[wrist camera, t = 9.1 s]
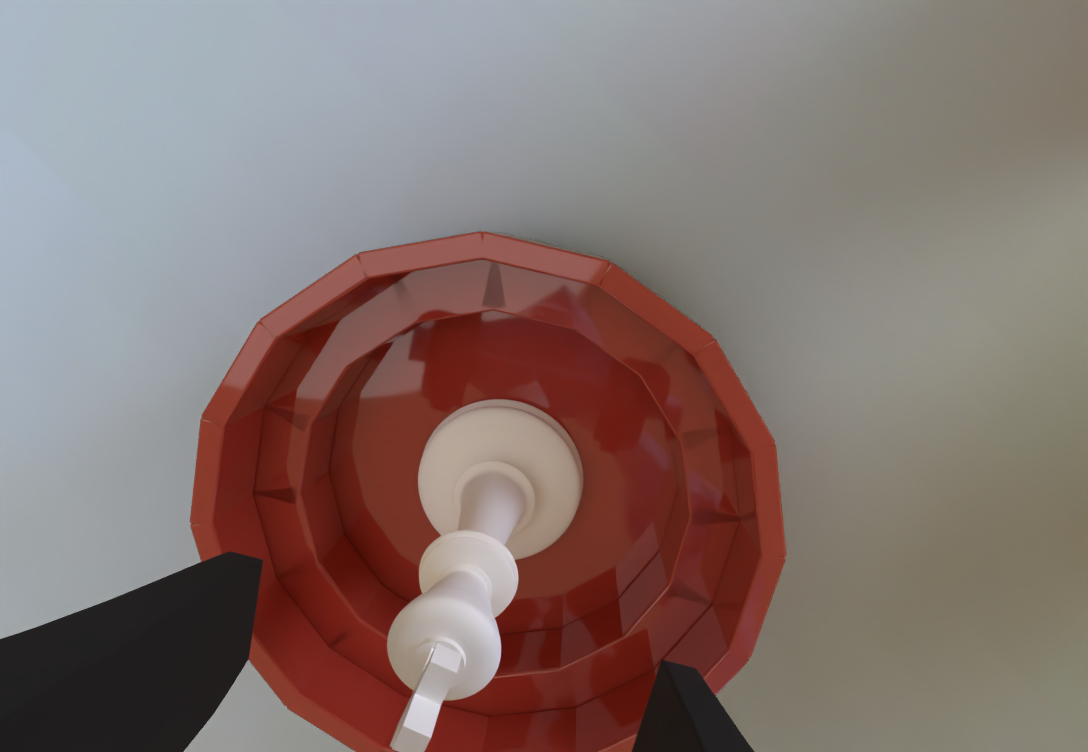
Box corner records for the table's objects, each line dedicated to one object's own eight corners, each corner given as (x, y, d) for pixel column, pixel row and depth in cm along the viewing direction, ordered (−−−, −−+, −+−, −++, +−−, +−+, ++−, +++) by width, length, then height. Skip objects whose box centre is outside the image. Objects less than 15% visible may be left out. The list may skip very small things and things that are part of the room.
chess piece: (611, 441, 18) (646, 679, 8) (541, 576, 19) (499, 928, 9) (458, 371, 18) (308, 529, 8) (396, 512, 19) (199, 802, 9)
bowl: (756, 646, 20) (806, 761, 15) (339, 690, 21) (276, 808, 17) (708, 198, 17) (752, 183, 13) (228, 282, 18) (117, 295, 14)
